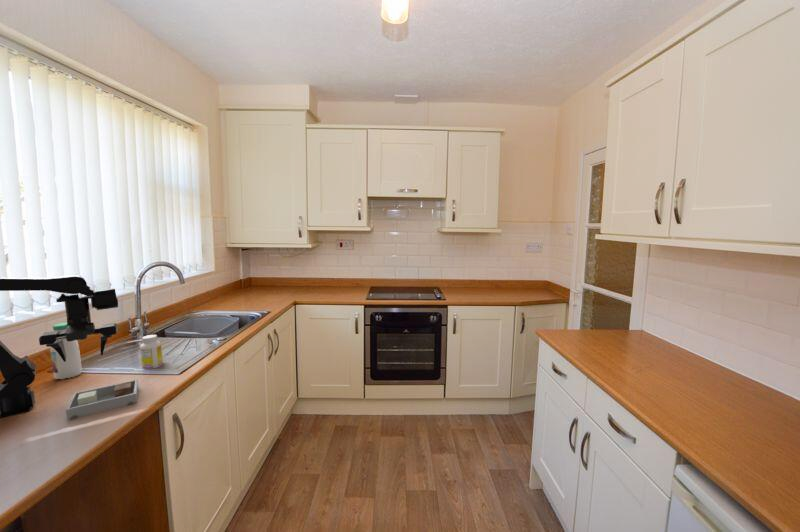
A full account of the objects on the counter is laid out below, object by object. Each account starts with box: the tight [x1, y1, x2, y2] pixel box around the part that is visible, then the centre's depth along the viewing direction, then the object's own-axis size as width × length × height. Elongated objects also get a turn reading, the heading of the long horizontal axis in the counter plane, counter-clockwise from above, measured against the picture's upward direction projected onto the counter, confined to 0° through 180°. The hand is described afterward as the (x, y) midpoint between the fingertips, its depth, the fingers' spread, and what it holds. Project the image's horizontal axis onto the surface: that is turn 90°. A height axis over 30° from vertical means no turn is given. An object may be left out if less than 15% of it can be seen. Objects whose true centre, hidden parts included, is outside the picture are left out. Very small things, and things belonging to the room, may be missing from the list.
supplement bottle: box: [139, 334, 164, 370], centre depth 136 cm, size 7×7×13 cm
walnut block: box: [114, 382, 132, 398], centre depth 111 cm, size 4×4×4 cm
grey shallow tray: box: [65, 379, 139, 421], centre depth 108 cm, size 16×13×4 cm
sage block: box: [77, 390, 98, 406], centre depth 106 cm, size 4×4×4 cm
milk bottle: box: [49, 322, 83, 380], centre depth 128 cm, size 8×8×20 cm
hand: (84, 358), depth 116 cm, fingers open, 9 cm apart
